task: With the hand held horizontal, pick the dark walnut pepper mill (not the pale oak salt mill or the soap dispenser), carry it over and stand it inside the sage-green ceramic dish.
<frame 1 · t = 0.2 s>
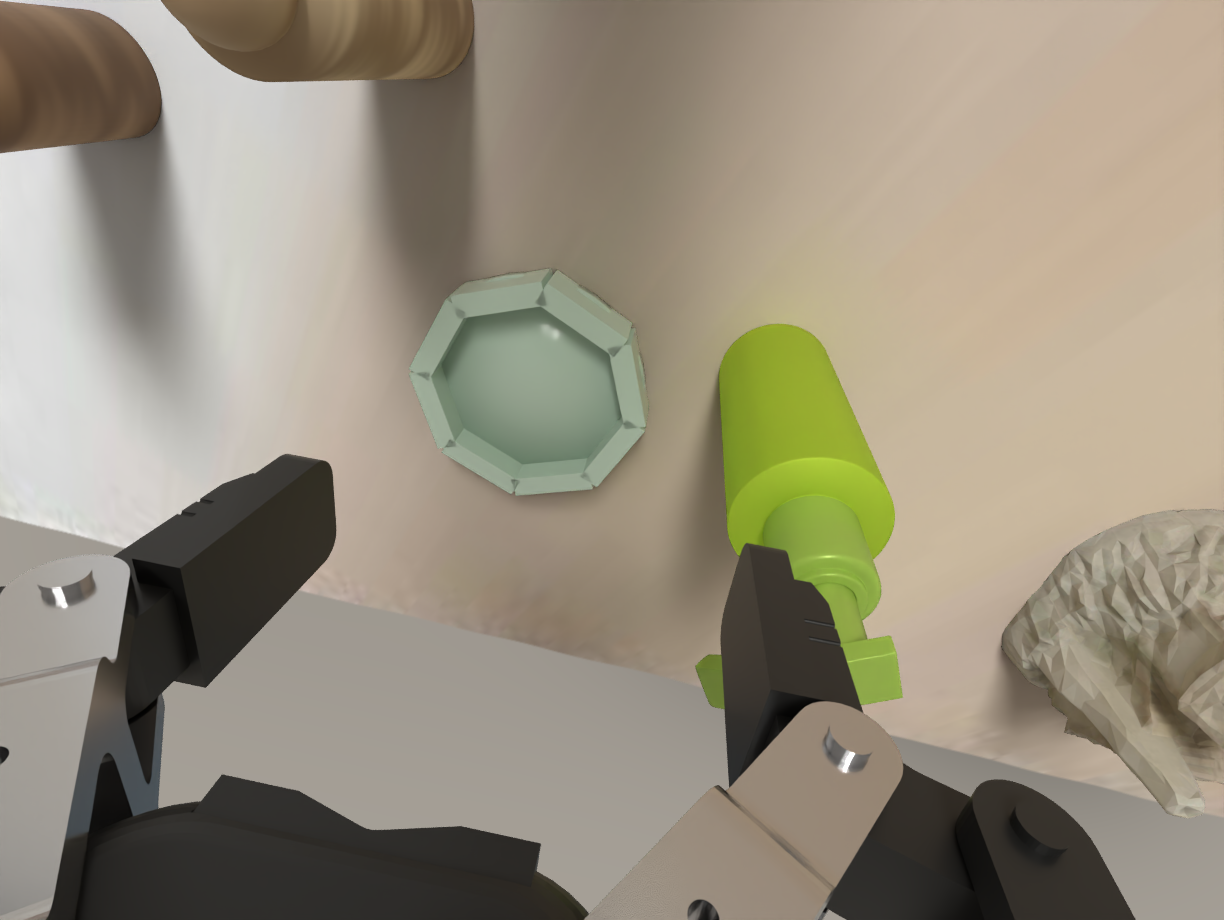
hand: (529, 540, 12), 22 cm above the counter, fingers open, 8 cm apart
dish: (537, 381, 35), on the counter
salt mill: (419, 12, 26), on the counter
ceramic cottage: (1155, 605, 38), on the counter
pepper mill: (107, 76, 29), on the counter
soap dispenser: (763, 376, 33), on the counter
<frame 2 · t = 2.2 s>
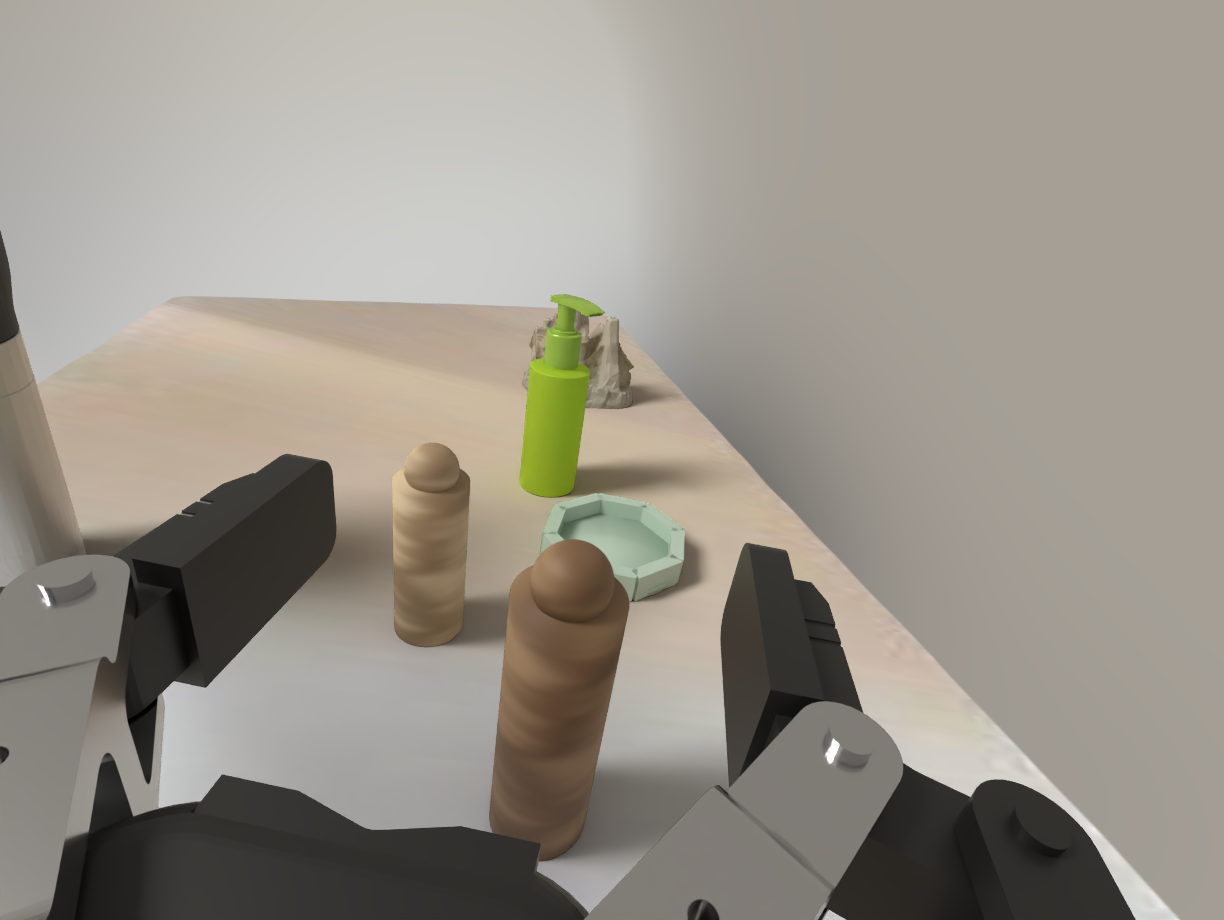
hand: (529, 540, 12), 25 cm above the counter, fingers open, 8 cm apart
dish: (612, 552, 55), on the counter
salt mill: (429, 622, 44), on the counter
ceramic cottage: (576, 390, 92), on the counter
pepper mill: (537, 811, 33), on the counter
soap dispenser: (550, 486, 64), on the counter
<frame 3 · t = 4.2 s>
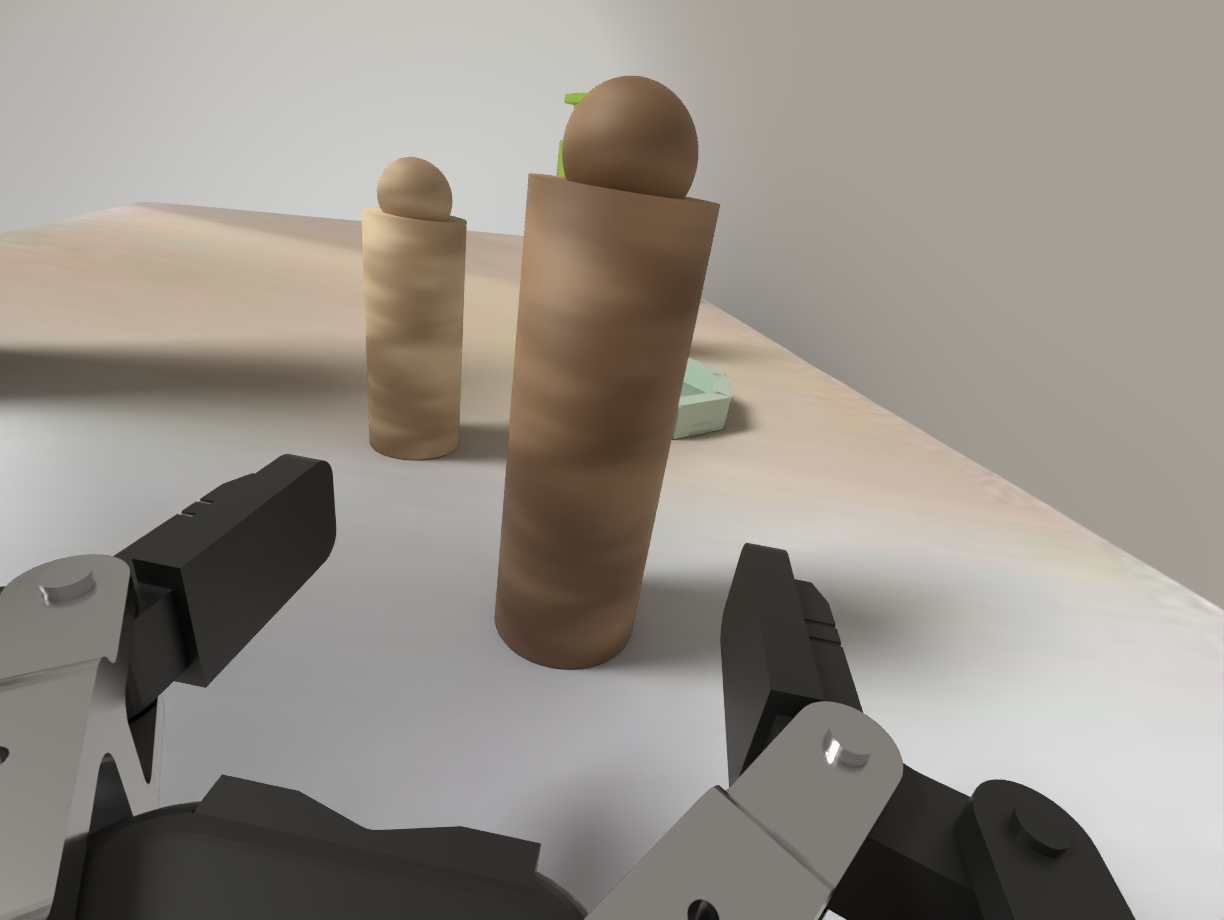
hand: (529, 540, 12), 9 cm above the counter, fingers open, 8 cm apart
dish: (641, 401, 45), on the counter
salt mill: (415, 440, 34), on the counter
pepper mill: (564, 617, 23), on the counter
soap dispenser: (562, 350, 55), on the counter
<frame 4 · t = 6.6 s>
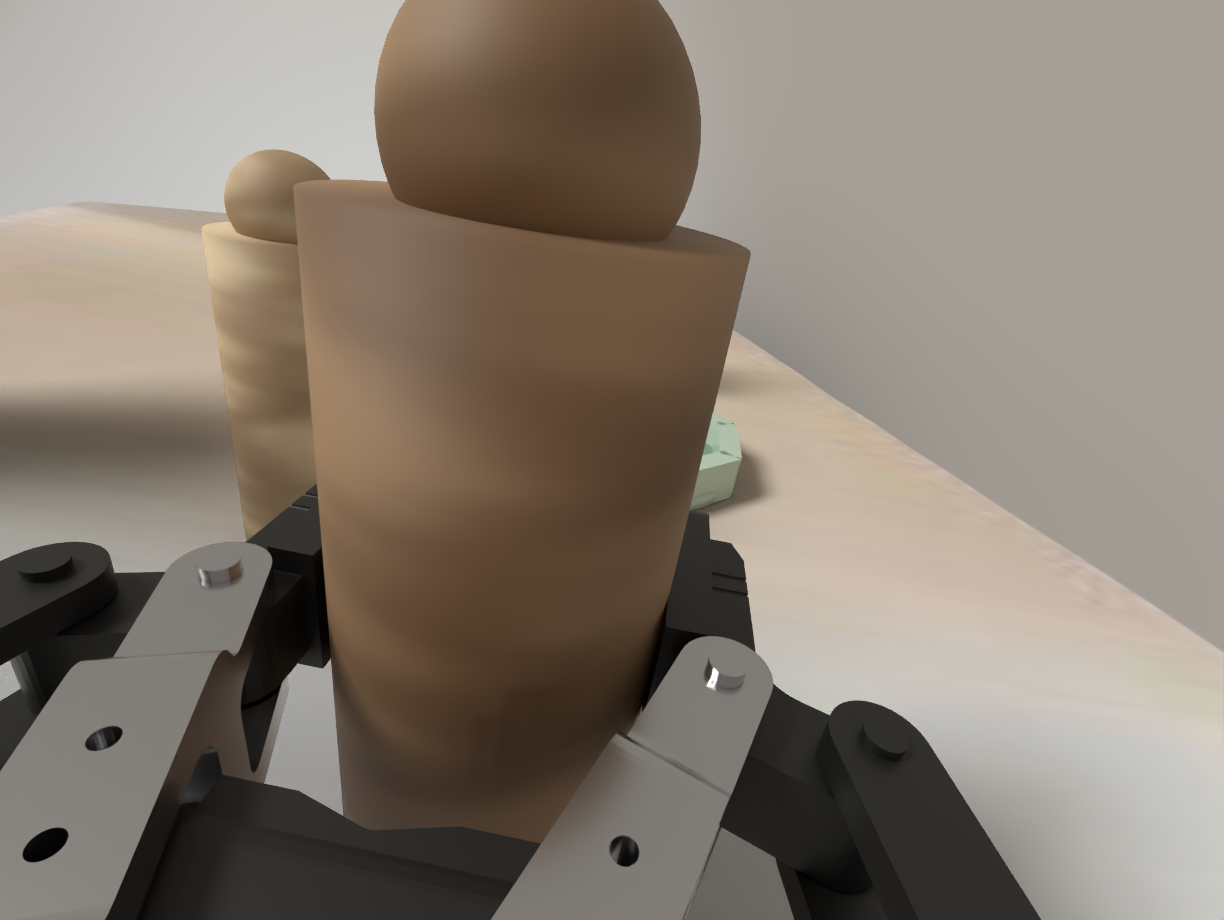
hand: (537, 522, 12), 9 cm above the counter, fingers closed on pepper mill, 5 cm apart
dish: (627, 457, 36), on the counter
salt mill: (314, 536, 25), on the counter
pepper mill: (477, 908, 14), on the counter, touching gripper
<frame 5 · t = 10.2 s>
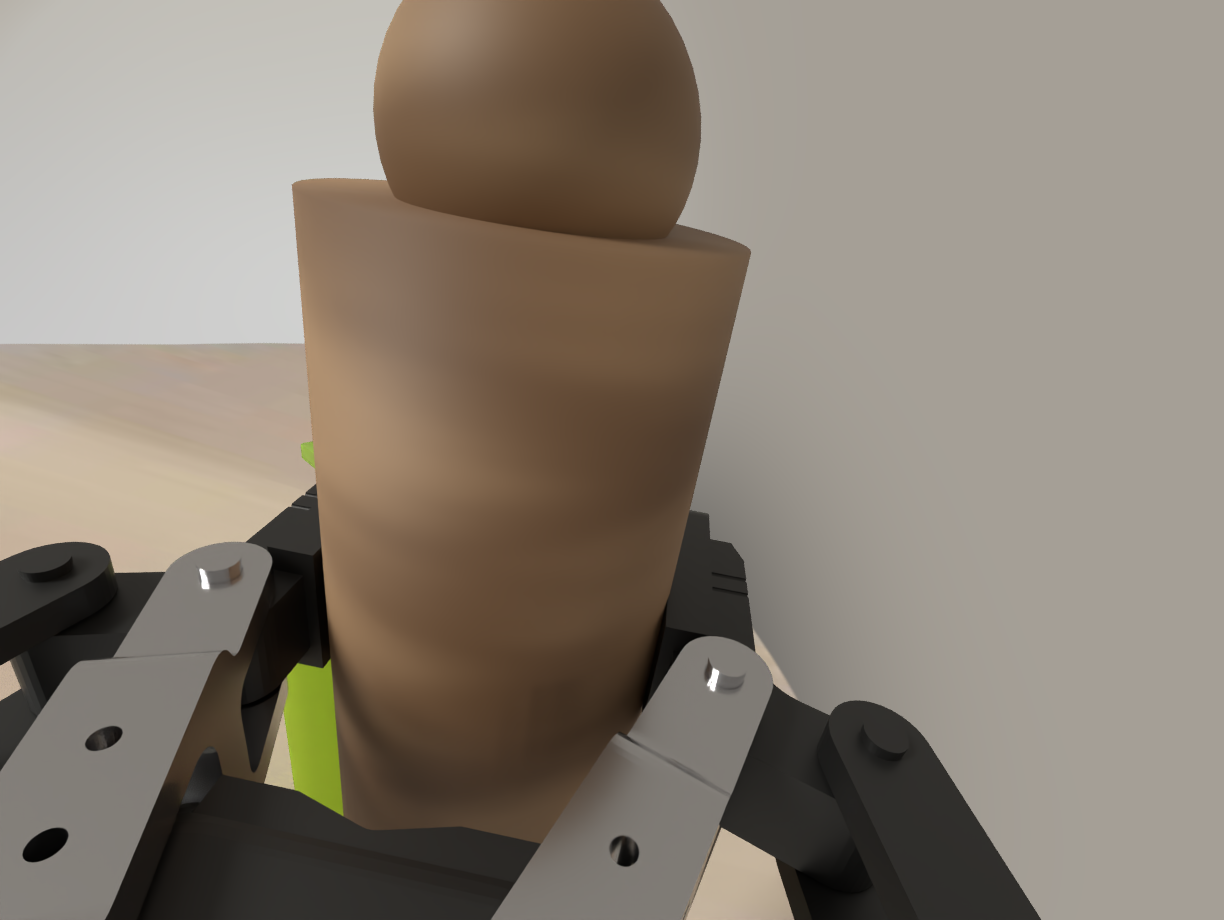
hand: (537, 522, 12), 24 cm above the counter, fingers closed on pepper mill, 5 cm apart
pepper mill: (477, 908, 14), point 15 cm above the counter, touching gripper
soap dispenser: (370, 812, 30), on the counter
when the fingers open (11 cm above the counter, at t = 13.7 s): pepper mill drops 1 cm, resting on dish.
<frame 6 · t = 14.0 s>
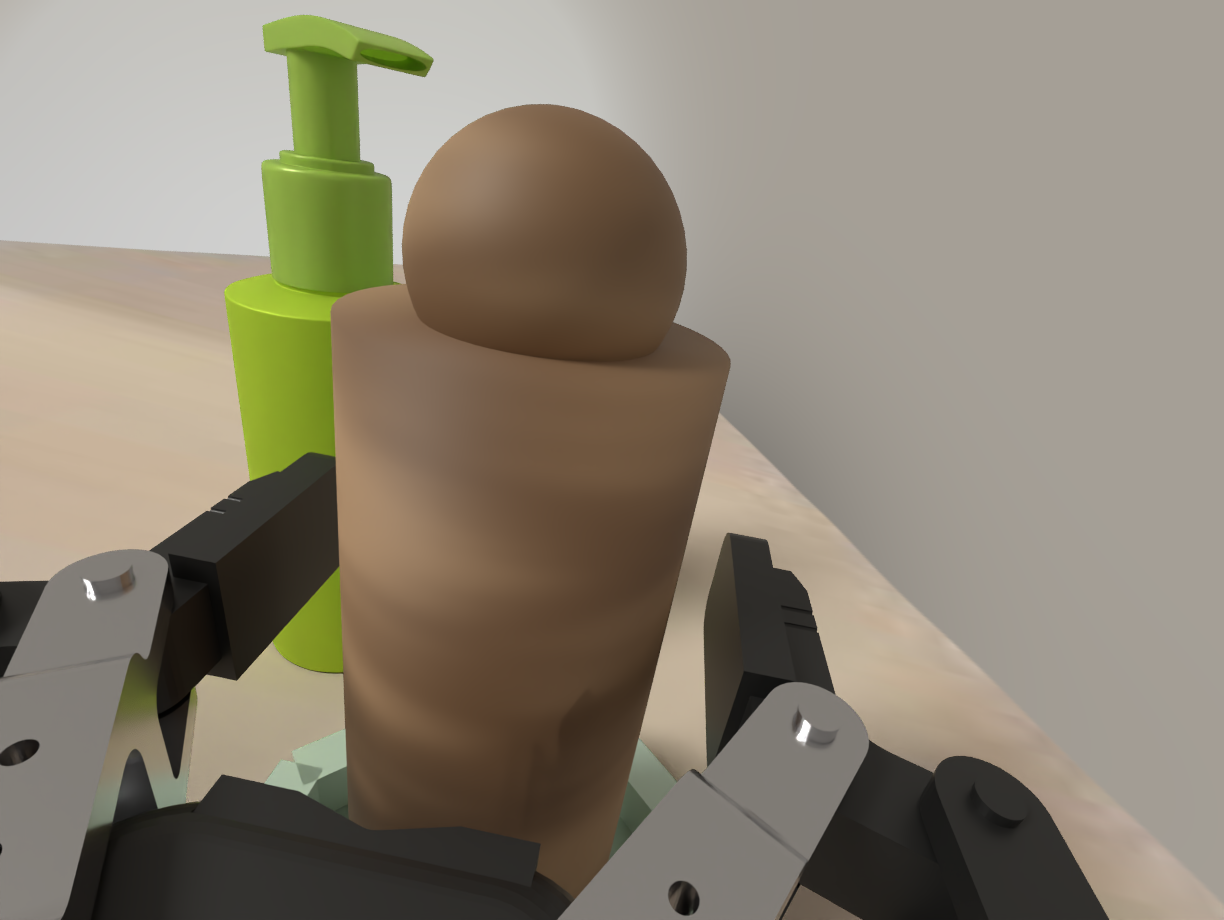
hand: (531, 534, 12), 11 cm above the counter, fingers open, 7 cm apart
soap dispenser: (360, 628, 24), on the counter
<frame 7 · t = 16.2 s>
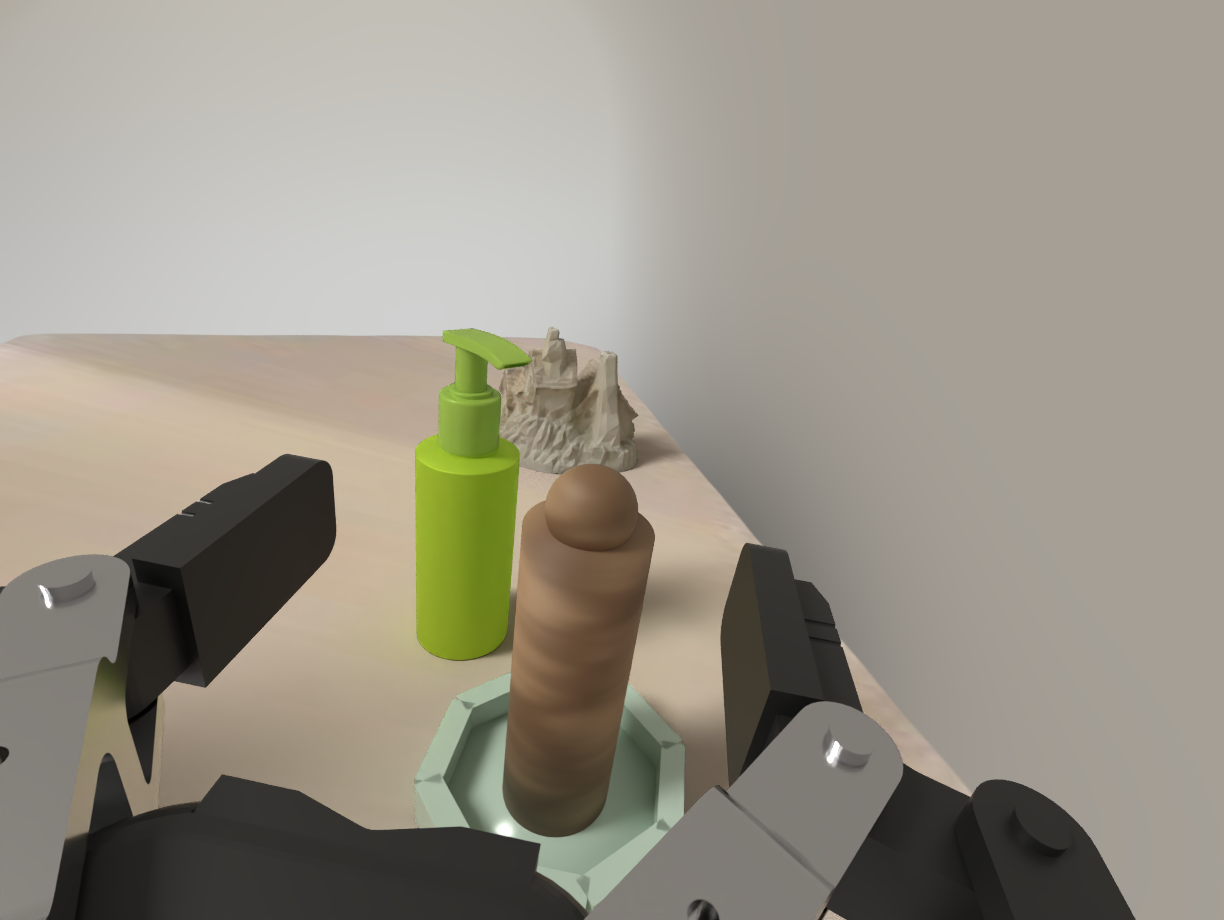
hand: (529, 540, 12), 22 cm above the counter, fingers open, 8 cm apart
dish: (553, 793, 30), on the counter
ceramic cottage: (562, 446, 70), on the counter
pepper mill: (555, 785, 30), point 1 cm above the counter, touching dish
soap dispenser: (467, 635, 40), on the counter
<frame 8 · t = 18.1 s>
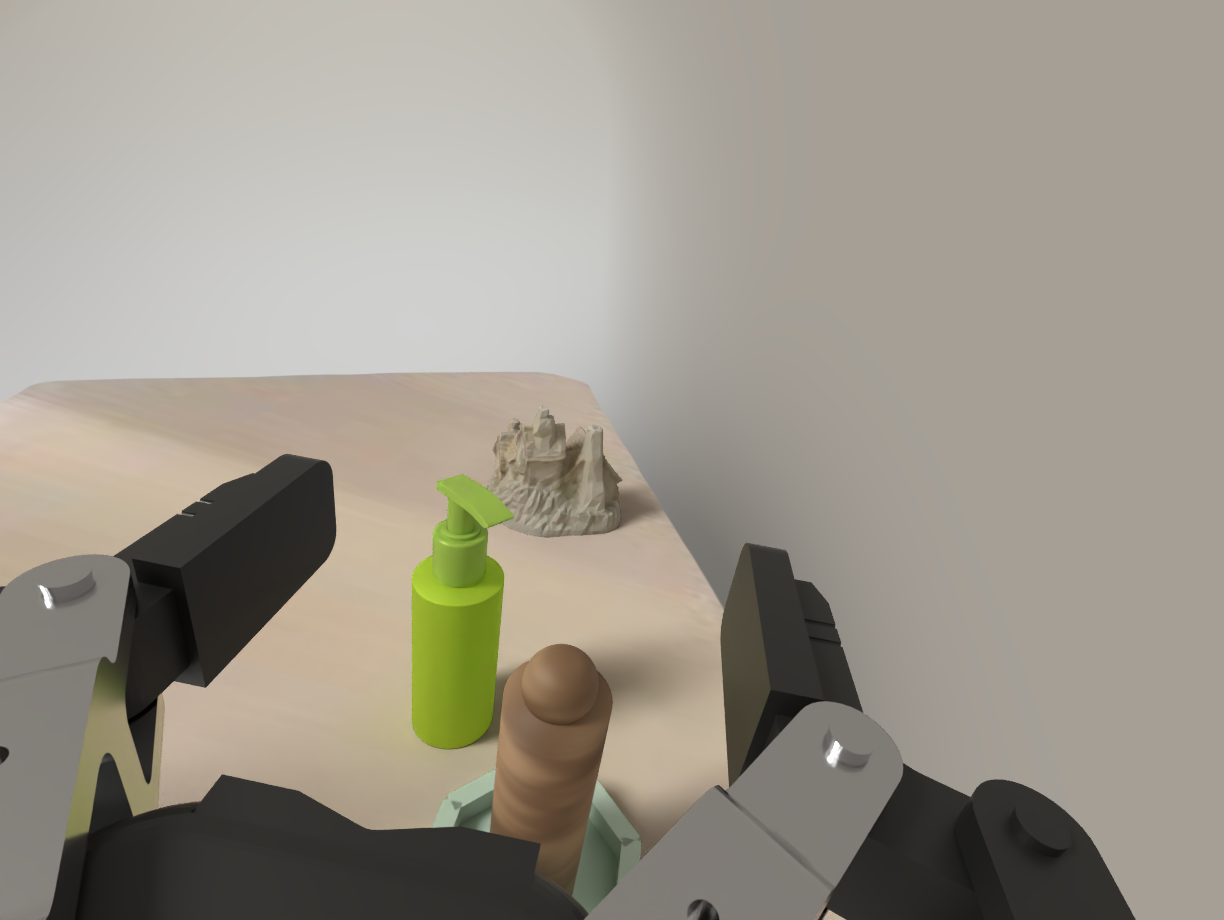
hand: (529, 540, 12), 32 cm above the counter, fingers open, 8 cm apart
dish: (528, 884, 36), on the counter
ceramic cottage: (551, 503, 75), on the counter
pepper mill: (530, 878, 35), point 1 cm above the counter, touching dish
soap dispenser: (456, 721, 45), on the counter
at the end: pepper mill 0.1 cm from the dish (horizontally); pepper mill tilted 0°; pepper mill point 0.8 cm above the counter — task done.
